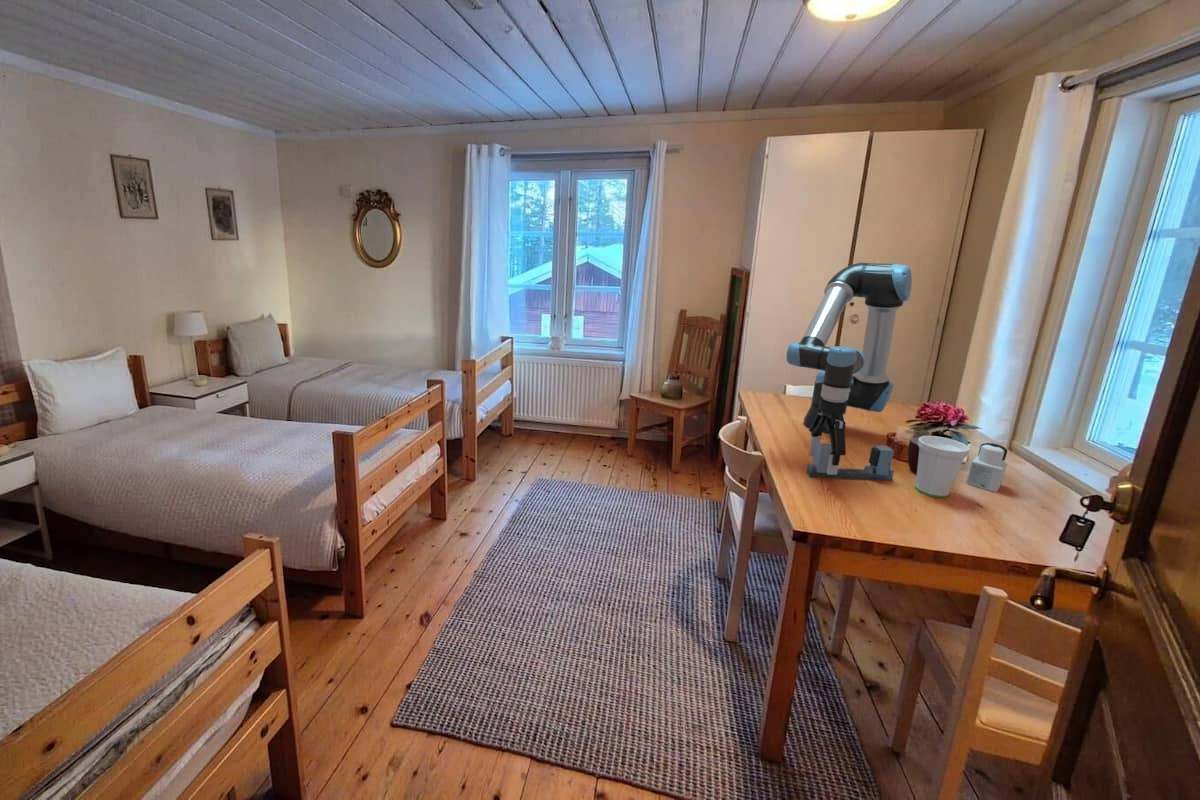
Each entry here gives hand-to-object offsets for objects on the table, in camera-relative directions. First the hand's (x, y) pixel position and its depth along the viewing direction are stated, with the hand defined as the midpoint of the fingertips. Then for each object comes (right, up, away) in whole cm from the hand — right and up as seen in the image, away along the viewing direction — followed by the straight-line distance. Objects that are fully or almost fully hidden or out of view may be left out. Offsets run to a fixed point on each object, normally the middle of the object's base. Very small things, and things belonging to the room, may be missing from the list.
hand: (822, 464), depth 156 cm
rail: (+9, -4, +1) cm, 10 cm away
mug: (+34, -4, +6) cm, 35 cm away
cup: (+30, -7, -6) cm, 31 cm away
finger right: (0, -2, 0) cm, 2 cm away
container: (+50, -6, 0) cm, 50 cm away
